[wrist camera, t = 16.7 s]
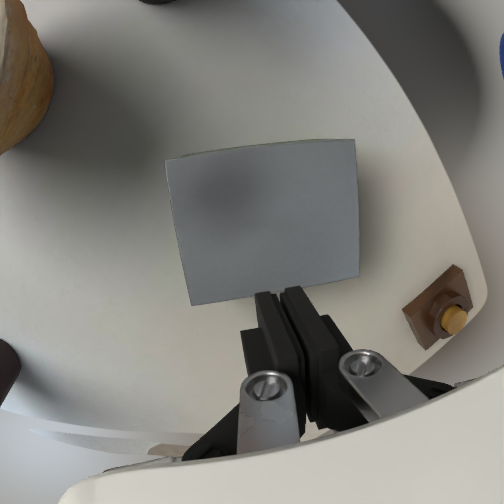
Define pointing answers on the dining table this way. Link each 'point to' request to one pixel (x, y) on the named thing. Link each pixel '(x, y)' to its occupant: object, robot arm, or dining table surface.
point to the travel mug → (157, 1)
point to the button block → (437, 306)
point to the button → (454, 319)
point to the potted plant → (21, 76)
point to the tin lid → (266, 218)
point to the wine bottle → (7, 369)
